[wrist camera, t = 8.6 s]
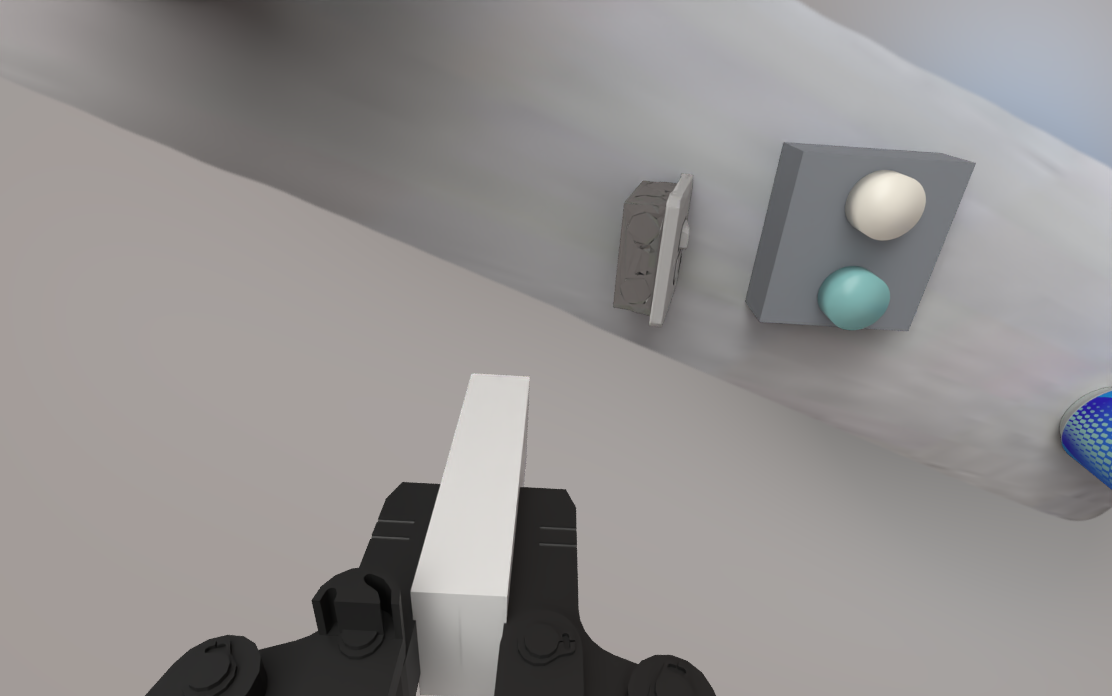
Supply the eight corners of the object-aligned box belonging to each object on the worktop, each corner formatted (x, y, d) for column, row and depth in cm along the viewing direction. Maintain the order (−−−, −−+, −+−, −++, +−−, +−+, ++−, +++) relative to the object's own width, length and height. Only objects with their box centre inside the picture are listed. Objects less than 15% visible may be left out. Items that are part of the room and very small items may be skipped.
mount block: (783, 142, 42) (803, 151, 39) (941, 153, 42) (975, 163, 39) (745, 301, 48) (759, 321, 45) (883, 310, 49) (908, 331, 45)
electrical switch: (675, 285, 48) (685, 333, 40) (614, 279, 48) (611, 326, 40) (693, 171, 43) (709, 199, 35) (626, 166, 44) (626, 193, 36)
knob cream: (834, 158, 42) (870, 173, 37) (893, 162, 42) (935, 177, 37) (818, 217, 44) (849, 238, 39) (873, 220, 44) (911, 242, 39)
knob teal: (809, 249, 45) (838, 273, 40) (863, 252, 45) (898, 277, 41) (794, 299, 47) (820, 328, 43) (846, 302, 47) (878, 332, 43)
